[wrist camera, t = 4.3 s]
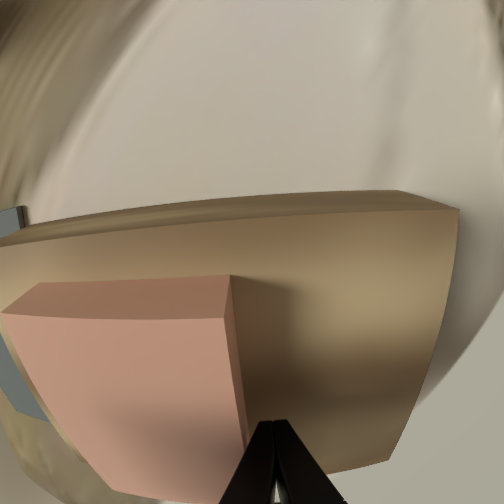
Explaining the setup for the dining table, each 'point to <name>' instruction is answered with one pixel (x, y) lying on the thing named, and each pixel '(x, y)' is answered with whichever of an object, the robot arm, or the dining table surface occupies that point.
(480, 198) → the dining table surface
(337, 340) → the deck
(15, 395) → the mat
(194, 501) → the salmon pink block
